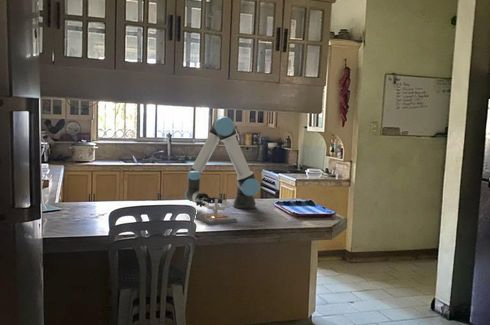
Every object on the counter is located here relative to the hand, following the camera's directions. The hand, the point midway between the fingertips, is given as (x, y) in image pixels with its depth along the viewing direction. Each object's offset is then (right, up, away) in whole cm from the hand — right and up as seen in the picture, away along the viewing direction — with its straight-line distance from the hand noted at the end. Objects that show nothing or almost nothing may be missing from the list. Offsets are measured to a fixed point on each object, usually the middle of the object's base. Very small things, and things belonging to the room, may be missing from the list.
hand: (218, 204), depth 266 cm
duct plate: (-2, -9, +3) cm, 10 cm away
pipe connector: (-2, -7, +3) cm, 8 cm away
